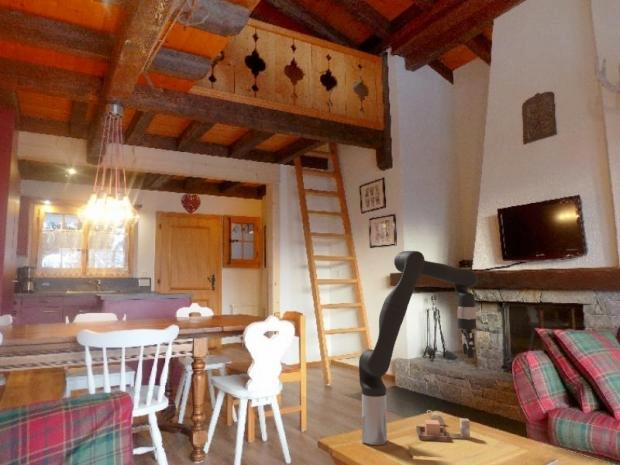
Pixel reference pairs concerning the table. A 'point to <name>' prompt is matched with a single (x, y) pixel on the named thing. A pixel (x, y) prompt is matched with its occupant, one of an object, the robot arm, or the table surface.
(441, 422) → the decorative ornament
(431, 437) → the tray
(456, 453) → the table surface
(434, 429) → the terracotta cube
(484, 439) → the table surface
